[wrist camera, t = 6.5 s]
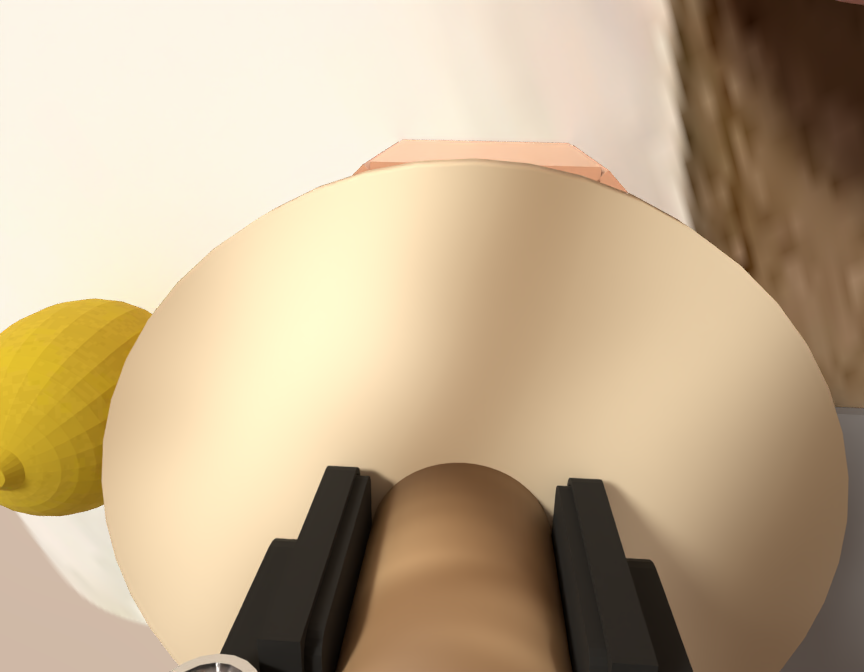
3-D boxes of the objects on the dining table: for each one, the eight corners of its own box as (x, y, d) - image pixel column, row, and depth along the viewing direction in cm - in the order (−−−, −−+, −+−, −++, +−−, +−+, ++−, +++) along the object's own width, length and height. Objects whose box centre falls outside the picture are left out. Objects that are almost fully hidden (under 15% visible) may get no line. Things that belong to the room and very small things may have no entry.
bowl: (696, 145, 19) (782, 171, 14) (643, 502, 23) (692, 634, 18) (282, 137, 20) (203, 157, 14) (304, 483, 24) (248, 603, 19)
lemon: (170, 240, 21) (0, 325, 14) (261, 384, 23) (153, 530, 15) (39, 311, 23) (-182, 425, 15) (134, 443, 24) (-23, 604, 17)
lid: (904, 168, 10) (1426, 272, 5) (748, 773, 15) (912, 1195, 9) (75, 149, 11) (-354, 218, 5) (172, 729, 16) (-2, 1095, 10)
